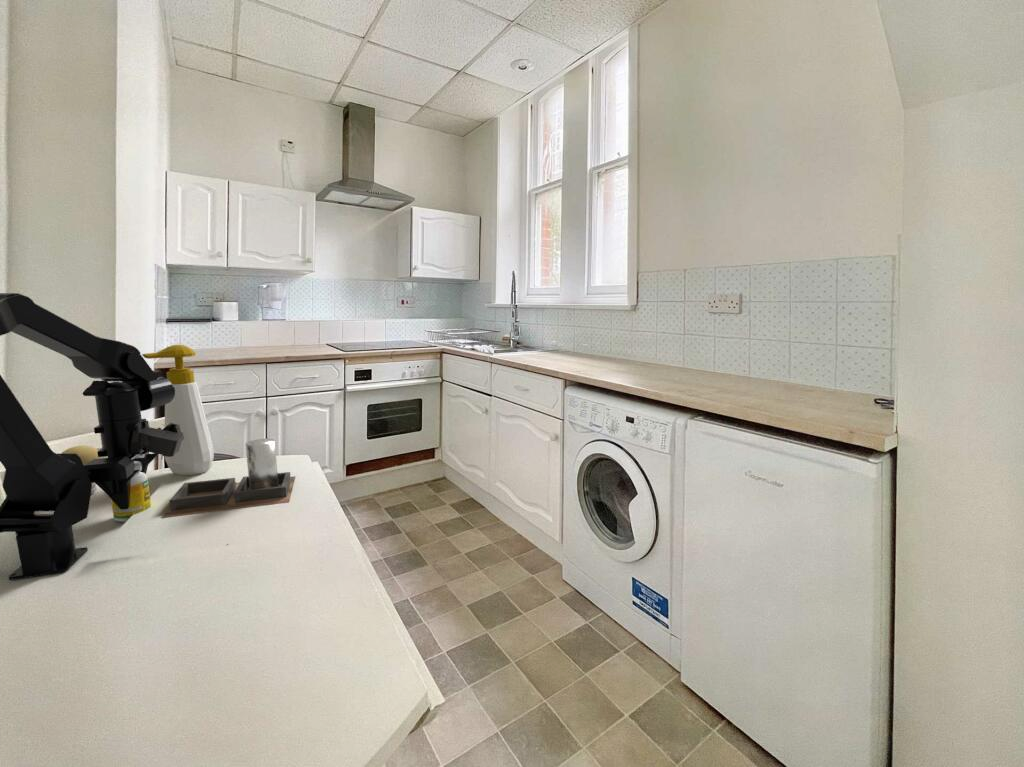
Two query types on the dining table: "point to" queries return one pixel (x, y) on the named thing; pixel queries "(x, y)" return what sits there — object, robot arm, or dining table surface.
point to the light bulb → (85, 457)
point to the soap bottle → (186, 416)
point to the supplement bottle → (135, 496)
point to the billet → (262, 463)
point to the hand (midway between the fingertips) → (131, 502)
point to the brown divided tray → (227, 495)
